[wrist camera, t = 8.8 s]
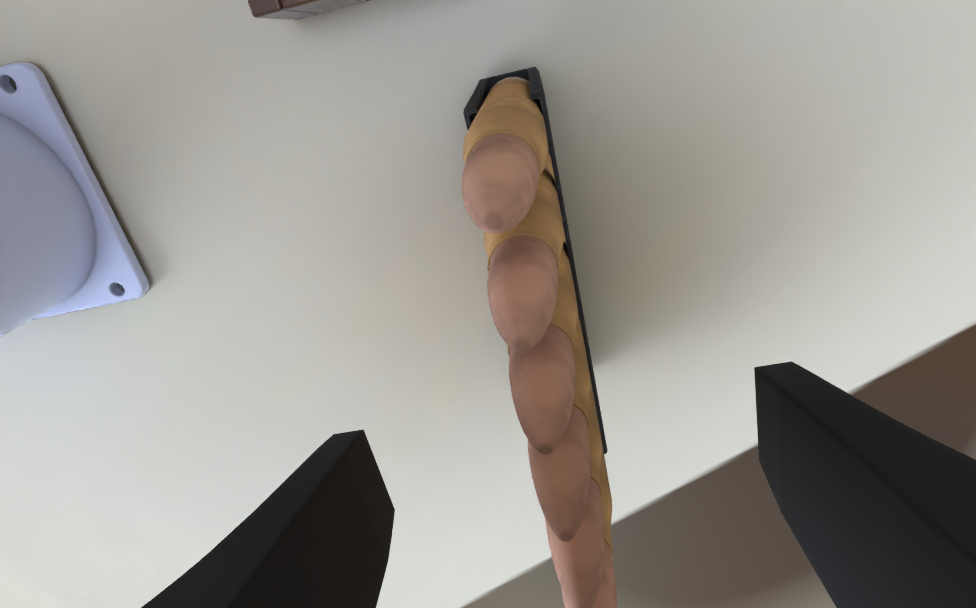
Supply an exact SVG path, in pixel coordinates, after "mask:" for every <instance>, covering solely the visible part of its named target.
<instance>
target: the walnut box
mask: <svg viewBox="0 0 976 608" xmlns="http://www.w3.org/2000/svg"><path fill="white" fill-rule="evenodd" d="M365 1H369V0H248V3H249V6H250V9H251V11H252V14H253V16H254V17H256V18H274V19H294V20H298V19H302V18H306V17H309V16H313V15H317V14H318V13H319V12H320V13H324V12H328V11H331V10H335V9H339V8H343V7H346V6H350V5H354V4H357V3H361V2H365Z"/></svg>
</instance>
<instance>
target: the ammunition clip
mask: <svg viewBox="0 0 976 608" xmlns="http://www.w3.org/2000/svg"><path fill="white" fill-rule="evenodd" d="M464 117H465V121H466V126H467V130H468V132H467V134H466V136H465V139H464V149H463V157H464V161H465V166H464V170H463V179H462V195H463V199H464V203H465V207H466V210H467V213H468V214H469V216H470V217H471V218H472V220H473V221H474V223H475V224H476V226H478V227H479V228H480V229H482V230H483V231H484V245H485V249H486V253H487V256H488V271H489V275H488V284H487V288H488V298H489V304H490V308H491V312H492V316H493V320H494V322H495V325H496V327H497V329H498V331H499V334H500V335H501V337H502V338H503V339H504V341H505V342H506V343H507V345H508V354H509V377H510V385H511V391H512V397H513V401H514V405H515V409H516V412H517V416H518V419H519V421H520V424H521V426H522V429H523V431H524V433H525V435H526V437H527V438H528V453H529V461H530V467H531V473H532V478H533V482H534V486H535V489H536V493H537V497H538V500H539V503H540V505H541V508H542V511H543V513H544V516H545V522H546V528H547V534H548V540H549V546H550V550H551V554H552V558H553V562H554V566H555V569H556V572H557V576H558V578H559V581H560V584H561V589H562V594H563V600H564V605H565V608H617V596H616V595H617V594H616V581H615V573H614V566H613V559H612V556H613V548H612V539H611V529H610V526H611V516H612V498H611V493H610V487H609V481H608V475H607V469H606V464H605V458H604V454H606V453H607V446H606V440H605V434H604V429H603V423H602V417H601V412H600V406H599V400H598V395H597V389H596V383H595V378H594V372H593V366H592V361H591V355H590V349H589V344H588V338H587V332H586V327H585V321H584V315H583V310H582V304H581V298H580V293H579V287H578V281H577V275H576V270H575V264H574V258H573V253H572V247H571V241H570V236H569V230H568V224H567V219H566V213H565V207H564V202H563V196H562V190H561V185H560V179H559V173H558V168H557V162H556V156H555V151H554V145H553V139H552V134H551V128H550V122H549V117H548V111H547V105H546V100H545V94H544V90H543V86H542V82H541V78H540V74H539V72H538V70H537V69H536V67H532V68H528V69H524V70H519V71H515V72H511V73H507V74H503V75H499V76H494V77H490V78H486V79H482V80H480V81H479V83H478V85H477V87H476V89H475V91H474V93H473V95H472V96H471V98H470V100H469V101H468V103H467V105H466V107H465V108H464Z"/></svg>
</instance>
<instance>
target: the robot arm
mask: <svg viewBox="0 0 976 608" xmlns="http://www.w3.org/2000/svg"><path fill="white" fill-rule="evenodd" d="M10 77H12V78H13V80H14V81H15V82H16V86H17V88H16V90H15V89H14V88H13V87H12V86H11V84H10V81H9V80H10ZM117 283H119V284H121V285H122V286H123V288H124V291H122V290H120V289H119V287H118V286H117ZM148 290H149V282H148V279H147V278H146V276H145V274H144V272H143V270H142V268H141V266H140V264H139V262H138V260H137V258H136V256H135V254H134V252H133V250H132V248H131V246H130V244H129V242H128V240H127V238H126V236H125V234H124V232H123V230H122V228H121V226H120V224H119V222H118V220H117V218H116V216H115V214H114V212H113V210H112V208H111V206H110V204H109V202H108V200H107V198H106V196H105V194H104V192H103V190H102V188H101V186H100V184H99V183H98V181H97V179H96V177H95V175H94V173H93V171H92V169H91V167H90V165H89V163H88V161H87V159H86V157H85V155H84V153H83V151H82V149H81V147H80V145H79V143H78V141H77V139H76V137H75V135H74V133H73V131H72V129H71V127H70V125H69V123H68V121H67V119H66V117H65V115H64V113H63V111H62V109H61V107H60V105H59V103H58V101H57V99H56V97H55V95H54V93H53V91H52V89H51V87H50V86H49V84H48V82H47V80H46V78H45V76H44V74H43V73H42V71H41V70H40V69H39V68H38V67H36V66H35V65H34V64H31V63H28V62H22V63H12V64H9V65H5V66H2V67H0V337H2V336H4V335H5V334H7V333H9V332H10V331H12V330H14V329H16V328H17V327H19V326H21V325H23V324H24V323H26V322H28V321H29V320H34V319H39V318H44V317H49V316H54V315H59V314H64V313H69V312H74V311H79V310H84V309H89V308H94V307H99V306H104V305H109V304H114V303H119V302H124V301H129V300H134V299H138V298H140V297H142V296H143V295H145V294H146V293H147V292H148ZM754 368H755V388H756V408H757V427H758V447H759V461H760V463H761V466H762V468H763V471H764V473H765V475H766V478H767V480H768V483H769V485H770V487H771V490H772V492H773V494H774V496H775V499H776V501H777V503H778V506H779V507H780V510H781V513H782V514H783V516H784V518H785V520H786V521H787V523H788V525H789V527H790V528H791V530H792V532H793V534H794V535H795V537H796V539H797V541H798V542H799V544H800V546H801V547H802V549H803V551H804V553H805V554H806V556H807V558H808V560H809V561H810V563H811V565H812V566H813V568H814V570H815V571H816V573H817V575H818V577H819V578H820V580H821V582H822V583H823V585H824V587H825V588H826V590H827V592H828V594H829V595H830V597H831V599H832V601H833V602H834V604H835V605H836V607H837V608H976V460H975V459H973V458H971V457H969V456H967V455H965V454H963V453H960V452H958V451H956V450H954V449H952V448H950V447H948V446H946V445H944V444H942V443H940V442H938V441H935V440H934V439H931V438H929V437H927V436H926V435H924V434H922V433H920V432H918V431H916V430H914V429H912V428H910V427H908V426H906V425H904V424H902V423H900V422H898V421H897V420H895V419H893V418H891V417H889V416H887V415H886V414H884V413H882V412H880V411H878V410H876V409H874V408H873V407H871V406H869V405H867V404H866V403H864V402H862V401H860V400H859V399H857V398H855V397H853V396H851V395H850V394H848V393H846V392H845V391H843V390H841V389H839V388H838V387H836V386H834V385H832V384H831V383H829V382H827V381H825V380H824V379H822V378H820V377H818V376H817V375H815V374H813V373H811V372H810V371H808V370H806V369H804V368H803V367H801V366H799V365H797V364H795V363H793V362H786V363H780V364H773V365H767V366H761V367H754ZM394 511H395V509H394V507H393V504H392V502H391V499H390V496H389V494H388V491H387V489H386V486H385V484H384V481H383V479H382V476H381V473H380V471H379V468H378V466H377V463H376V461H375V458H374V455H373V453H372V450H371V448H370V445H369V443H368V440H367V438H366V435H365V432H364V430H358V431H352V432H345V433H339V434H334V435H333V436H331V437H330V438H329V439H328V440H327V441H326V442H324V443H323V444H322V445H321V446H320V447H319V448H318V449H317V450H316V451H315V452H314V453H313V454H312V455H311V456H310V457H309V458H308V459H307V460H306V461H305V462H304V463H303V464H302V465H301V466H300V467H299V468H298V469H297V470H296V471H295V472H294V473H293V474H291V475H290V476H289V477H288V478H287V479H286V480H285V481H284V482H283V483H282V484H281V485H280V486H279V487H278V488H277V489H276V490H275V491H274V492H273V493H272V494H271V495H270V496H269V497H268V498H267V499H266V500H265V501H264V502H263V503H262V504H261V505H260V506H259V507H258V508H257V509H256V510H255V511H254V512H253V513H252V514H251V515H250V516H248V517H247V518H246V519H245V520H244V521H243V522H242V523H241V524H240V525H239V526H238V527H236V528H235V529H234V530H233V531H232V532H231V533H230V534H229V535H228V536H227V537H226V538H224V539H223V540H222V541H221V542H220V543H219V544H218V545H217V546H216V547H215V548H214V549H212V550H211V551H210V552H209V553H208V554H207V555H206V556H205V557H203V558H202V559H201V560H200V561H199V562H198V563H197V564H195V565H194V566H193V567H192V568H191V569H189V570H188V571H187V572H186V573H185V574H183V575H182V576H181V577H180V578H178V579H177V580H176V581H175V582H173V583H172V584H171V585H170V586H168V587H167V588H166V589H165V590H163V591H162V592H161V593H160V594H158V595H157V596H156V597H154V598H153V599H152V600H151V601H149V602H148V603H147V604H145V605H144V606H143V607H141V608H376V605H377V601H378V597H379V593H380V590H381V586H382V582H383V578H384V575H385V571H386V567H387V563H388V557H389V550H390V544H391V537H392V528H393V520H394Z"/></svg>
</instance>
